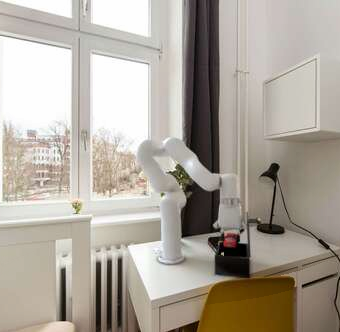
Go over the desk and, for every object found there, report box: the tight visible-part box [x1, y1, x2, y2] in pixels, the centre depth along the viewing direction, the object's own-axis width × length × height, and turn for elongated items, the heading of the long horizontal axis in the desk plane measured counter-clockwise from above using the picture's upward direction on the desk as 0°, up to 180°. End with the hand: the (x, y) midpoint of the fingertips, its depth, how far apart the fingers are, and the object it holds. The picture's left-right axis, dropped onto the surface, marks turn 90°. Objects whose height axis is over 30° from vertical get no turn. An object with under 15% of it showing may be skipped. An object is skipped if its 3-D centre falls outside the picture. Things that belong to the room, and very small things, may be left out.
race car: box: [224, 232, 237, 248], centre depth 96 cm, size 13×5×4 cm, turn 162°
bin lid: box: [245, 211, 262, 258], centre depth 93 cm, size 14×18×6 cm
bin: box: [214, 240, 251, 279], centre depth 95 cm, size 14×18×8 cm
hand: (230, 242), depth 96 cm, fingers closed on race car, 5 cm apart
